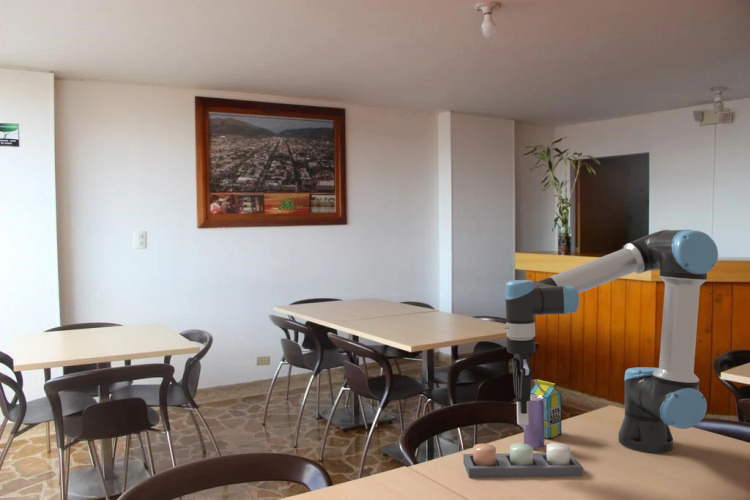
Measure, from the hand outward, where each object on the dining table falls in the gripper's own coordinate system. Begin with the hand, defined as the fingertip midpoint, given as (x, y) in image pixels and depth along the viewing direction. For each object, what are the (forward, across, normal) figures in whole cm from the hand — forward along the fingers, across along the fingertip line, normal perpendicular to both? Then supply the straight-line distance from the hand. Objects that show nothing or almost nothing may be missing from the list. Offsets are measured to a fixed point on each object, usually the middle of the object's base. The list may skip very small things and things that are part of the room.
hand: (522, 423), depth 159 cm
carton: (+13, -27, +13) cm, 33 cm away
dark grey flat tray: (+13, 0, -1) cm, 13 cm away
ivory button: (+12, 0, +9) cm, 15 cm away
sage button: (+11, 0, -1) cm, 11 cm away
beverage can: (+13, -17, +7) cm, 22 cm away
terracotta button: (+11, 0, -11) cm, 16 cm away
